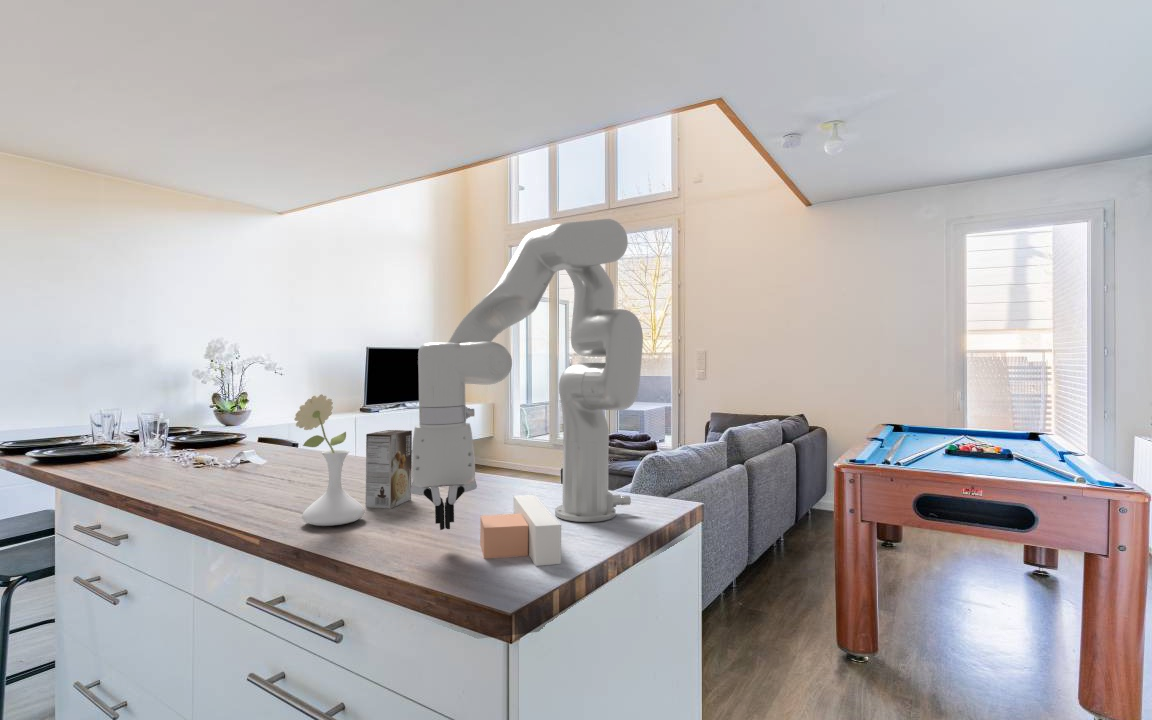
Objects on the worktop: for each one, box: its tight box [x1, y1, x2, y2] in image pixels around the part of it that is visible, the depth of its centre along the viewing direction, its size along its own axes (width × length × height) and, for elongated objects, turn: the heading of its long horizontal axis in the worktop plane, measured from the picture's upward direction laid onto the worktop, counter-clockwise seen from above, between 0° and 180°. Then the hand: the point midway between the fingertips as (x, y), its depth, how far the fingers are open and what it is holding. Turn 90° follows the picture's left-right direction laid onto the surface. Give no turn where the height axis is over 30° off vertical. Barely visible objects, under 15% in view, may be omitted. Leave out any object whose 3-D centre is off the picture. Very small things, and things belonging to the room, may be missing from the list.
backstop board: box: [512, 494, 562, 567], centre depth 96 cm, size 4×22×6 cm, turn 15°
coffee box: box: [365, 429, 413, 510], centre depth 125 cm, size 9×6×16 cm
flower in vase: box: [293, 393, 366, 527], centre depth 108 cm, size 13×11×25 cm
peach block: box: [479, 513, 529, 559], centre depth 93 cm, size 7×8×5 cm
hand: (444, 527), depth 93 cm, fingers closed
